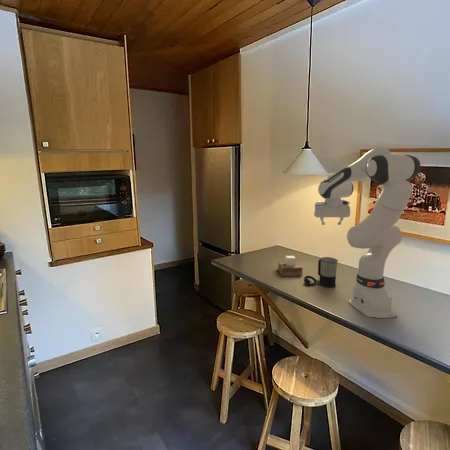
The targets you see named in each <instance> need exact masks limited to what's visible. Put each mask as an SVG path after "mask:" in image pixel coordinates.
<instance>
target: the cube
mask: <svg viewBox="0 0 450 450" xmlns="http://www.w3.org/2000/svg"><path fill="white" fill-rule="evenodd" d="M284 259H285V261H284V262H285V264H286V265H287V266H295V262H297V258H296V257H295V255H285V258H284Z"/></svg>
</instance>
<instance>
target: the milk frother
mask: <svg viewBox="0 0 450 450" xmlns="http://www.w3.org/2000/svg"><path fill="white" fill-rule="evenodd" d="M338 262H339V261H338V259H337V258H334V257H332V256H331V257H329V256H325V257H324V256H323V257H321V258H319V259H318V263H317V264H318V267H317V275H318V276H319V280H317V279H316V278H315V277H313V276H312V275H305V276H304V278H303V282H304V284H306V285H308V286H315V285H317V282H318V285H319V286H321V287H323V288H326V289H327V288H328V289H329V288H331V289H332V288H335V287H336V286H337V284H336V282H337V281H336V279H337V270H338V269H337V268H338ZM311 280H312V281H313V283H312V281H311Z"/></svg>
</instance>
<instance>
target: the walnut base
mask: <svg viewBox="0 0 450 450" xmlns="http://www.w3.org/2000/svg"><path fill="white" fill-rule="evenodd" d="M277 266H278V267H277V269H279V270H278V272H279V273H280V274H282V275H281V276H282V277H302V276H303V266H302V265H301V264H300V263H299V262H298V261H296V262H295V266H287V265H286V264H285V261H278V265H277Z"/></svg>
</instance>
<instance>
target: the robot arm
mask: <svg viewBox="0 0 450 450" xmlns="http://www.w3.org/2000/svg"><path fill="white" fill-rule="evenodd" d="M421 167H422V166H421V162H420V159H419V158H418V157H416V156H413V155H408V154H395V153H393V154H392V152H391V151H390V149H389V148H387V147H385V146H376V147H374V148H373V149H371V150H369V151H368V152H366V153H365V154H364V155H363V156H361V157H360V158H359V159H357V160H356V161H355V162H353V163H351V164H350V165H347V166H346V167H344V168H342V169H340V170H339V171H338V172H331V173H329V174H328V175H327V178H326V179H323V180H322V181H320V184H319V185H318V189H317V191H318V194H319V196H320V197H321V198H323V199H324V201H322V200H321V201H320V200H319V201H317V202H315V204H314V213H313V215H314V217H315V218H319V219H320V222H321V226H325V225H326V222H325V221H324V219H325V218H339V220H338V221H337V225H338V226H341V225H342V222H343V221H344V219H345V218H350V216H351V207H350V201H349V200H347V199H345V198H349V197H351V196H352V194H353V192H354V187H355V186H354V184H353V182H363V181H364V182H365V181H370V180H371V181H373V182H374V184H375V185H377V186H382V190H381V193H380V194H379V197H378V198H377V200H376V203H375V204H374V206H373V208H372V209H371V212H370V213H369V214H368V215H367V216H366V217H365V218H364V219H363V220H362V221H360V222H359V223H358V224H356V225H354V226H351V227H350V228H349V230H348V231H347V234H346V239H347V243H348V244H349V246H350V247H352V248H355V249H360V250H361V249H363V250H365V249H368V250H367V252H365V253H364V254H362V255H361V256H360V258H359V259H358V269H357V273H356V277H355V278H356V281H355V284H354V285H353V286H352V290H351V298H350V299H348V300H347V301H348V304H349V305H351V306H352V307H354V308H355V309H357V310H358V311H359V312H360V313H362V314H363V315H364V316H366V317H369V318H374V317H375V319H376V318H377V319H389V318H391V319H392V318H394V317H395V318H396V317H397V316H398V315H397V312H396V311H395V310H394V308H393V307H392V301H393V297H392V296H389V294H388V290H387V289H386V287H385V285H386V282H385V276H384V272H385V265H386V262H387V259H388V257H389V255H390V254H391V252H392V251H393V249H394V248H396V247H397V246H398V245H399V244H400V243H401V242H402V240H403V233H402V230H401V229H400V227H399V226H397V225H395V224H396V223H398V221H399V220H400V217H401V216H402V214H403V212H404V211H405V208H406V207H407V205H408V203H409V200H410V199H411V195H412V191H413V186H412V184H411V182H410V181H409V180H413V179H415V178H416V177H418V175H419V173H420V172H421Z"/></svg>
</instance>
